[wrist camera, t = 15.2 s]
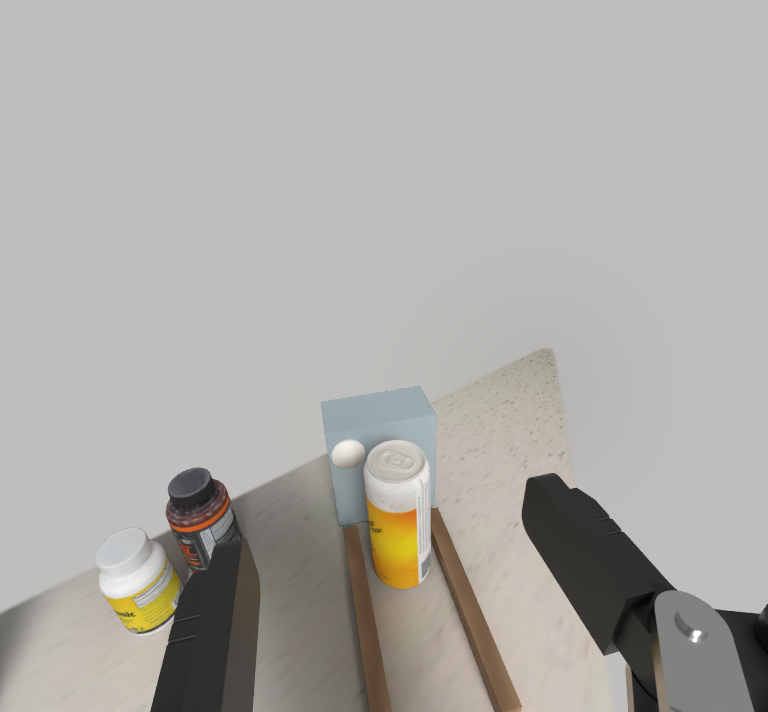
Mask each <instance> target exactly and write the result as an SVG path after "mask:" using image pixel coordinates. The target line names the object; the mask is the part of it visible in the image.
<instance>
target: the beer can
mask: <svg viewBox="0 0 768 712" xmlns="http://www.w3.org/2000/svg"><path fill="white" fill-rule="evenodd" d="M363 475H364V483H365V492H366V501H367V510H368V519H369V528H370V537H371V546H372V554H373V563H374V569H375V572H376V574H377V576H378V577H379V579H380V580H381V581H382V582H384V583H385V584H386V585H388V586H390V587H393V588H397V589H408V588H412V587H414V586H416V585H418V584H420V583H421V582H422V581H423V580H424V579H425V578H426V576H427V575H428V573H429V570H430V566H431V487H430V464H429V462H428V460H427V459H426V457H425V454H424V452H423V451H422V449H421V448H420V447H418V446H417V445H415V444H413V443H411V442H408V441H403V440H391V441H386V442H383V443H381V444H379V445H377V446H376V447H374V448H373V449H372V450H371V451H370V453H369V455H368V457H367V461H366V463H365V465H364V469H363Z"/></svg>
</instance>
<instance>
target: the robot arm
mask: <svg viewBox="0 0 768 712" xmlns="http://www.w3.org/2000/svg"><path fill="white" fill-rule="evenodd" d="M522 521H523V525H524V528H525V530H526V533H527V535H528V536H529V538H530V539H531V541H532V543H533V544H534V546H535V547H536V549H537V551H538V552H539V554H540V555H541V557H542V558H543V560H544V562H545V563H546V565H547V566H548V568H549V570H550V571H551V573H552V574H553V576H554V578H555V579H556V581H557V582H558V584H559V585H560V587H561V589H562V590H563V592H564V593H565V595H566V597H567V598H568V600H569V601H570V603H571V604H572V606H573V608H574V609H575V611H576V612H577V614H578V616H579V617H580V619H581V620H582V622H583V623H584V625H585V627H586V628H587V630H588V631H589V633H590V635H591V636H592V638H593V639H594V641H595V642H596V644H597V646H598V647H599V649H600V650H601V652H602V654H603V655H604V656H605V655H608V654H611V653H615V652H618V651H620V653H621V654H622V656H623V657H624V659H625V660H626V662H627V664H626V684H627V699H628V712H768V604H767V605H766V607H765V608H764V610H763V611H762V613H761V614H756V613H745V612H735V611H725V610H717V609H713V608H712V607H711V606H709V605H708V604H707V603H705V602H704V601H702V600H701V599H699V598H697V597H695V596H693V595H691V594H688V593H685V592H681V591H678V590H676V589H675V588H674V587H673V586H672V585H671V584H670V583H669V582H668V581H667V580H666V579H665V578H664V577H663V575H662V574H661V573H660V572H659V571H658V570H657V569H656V567H655V566H654V565H653V564H652V563H651V562H650V561H649V560H648V559H647V558H646V556H645V555H644V554H643V553H642V552H641V551H640V550H639V548H638V547H637V546H636V545H635V544H634V543H633V542H632V541H631V539H630V538H629V537H628V536H627V535H626V534H625V533H624V532H622V531H621V528H620V527H619V526H618V525H617V524H616V523H615V522H614V520H613V519H610V518H609V515H608V514H607V513H606V511H605V510H604V509H603V508H602V507H601V506H600V505H599V504H598V503H597V501H596V500H595V499H593V498H591V497H590V496H588V495H587V494H585V493H584V492H582V491H581V490H579V489H578V488H573V489H569V487H568V486H567V485H566V484H565V483H564V481H563V480H562V479H561V478H560V477H559V476H558V475H557V474H555V473H550V474H545V475H541V476H536V477H531V478H529V479H528V480H527V483H526V489H525V495H524V501H523V508H522ZM259 607H260V583H259V576H258V572H257V569H256V566H255V563H254V560H253V557H252V554H251V551H250V548H249V545H248V542H247V540H246V539H245V538H244V539H239V540H234V541H230V542H225V543H220V544H216V545H215V546H214V548H213V551H212V555H211V560H210V565H209V569H208V570H203V571H199V572H195V573H193V574H192V576H191V578H190V579H189V581H188V583H187V584H186V586H185V587H184V589H183V591H182V592H181V594H180V595H179V599H178V603H177V607H176V611H175V615H174V619H173V620H174V623H173V624H172V627H171V631H170V635H169V639H168V641H169V643H168V645H167V647H166V651H165V655H164V659H163V663H162V667H161V671H160V675H159V679H158V683H157V687H156V691H155V695H154V699H153V703H152V707H151V711H150V712H253V697H254V682H255V667H256V652H257V637H258V622H259Z"/></svg>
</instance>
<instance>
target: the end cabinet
mask: <svg viewBox="0 0 768 712" xmlns="http://www.w3.org/2000/svg"><path fill="white" fill-rule="evenodd" d="M321 407H322V415H323V423H324V431H325V438H326V444H327V450H328V457H329V463H330V469H331V475H332V482H333V488H334V494H335V501H336V507H337V513H338V519H339V526H344V525H348V524H353V523H358V522H362V521H367V520H369V519H368V510H367V501H366V492H365V483H364V475H363V469H364V465H365V463H366V461H367V457H368V455H369V453H370V451H371V450H372V449H373V448H374V447H376V446H377V445H379V444H381V443H383V442H386V441H391V440H403V441H408V442H411V443H413V444H415V445H417V446H418V447H420V448H421V449H422V451H423V452H424V454H425V457H426V459H427V460H428V462H429V464H430V487H431V506H435V479H436V413H435V411H434V410H433V408H432V406H431V404H430V403H429V401H428V399H427V397H426V396H425V394H424V392H423V390H422V389H421V387H420V386H415V387H409V388H403V389H397V390H391V391H385V392H379V393H373V394H367V395H361V396H355V397H350V398H343V399H337V400H331V401H325V402H321Z"/></svg>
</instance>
